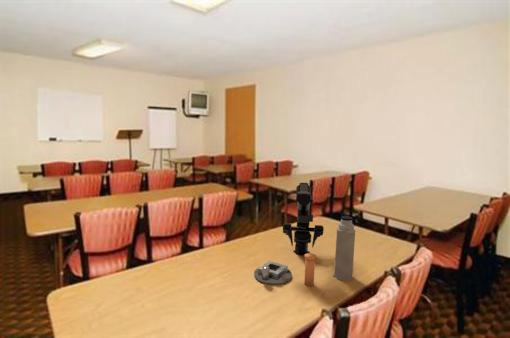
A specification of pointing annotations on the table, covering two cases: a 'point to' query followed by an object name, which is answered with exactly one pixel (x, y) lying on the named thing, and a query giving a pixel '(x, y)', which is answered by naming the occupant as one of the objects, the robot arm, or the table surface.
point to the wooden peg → (309, 269)
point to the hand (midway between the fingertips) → (302, 246)
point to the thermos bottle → (344, 249)
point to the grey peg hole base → (273, 273)
